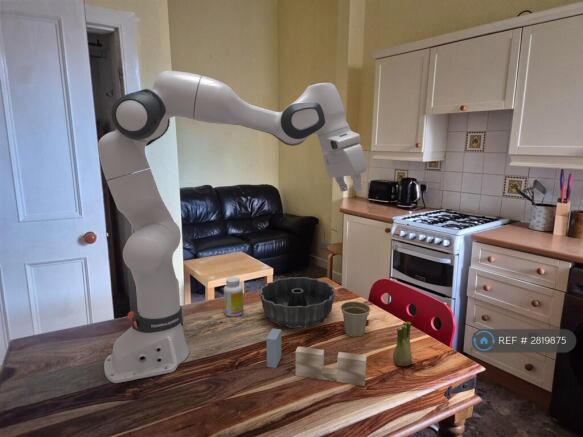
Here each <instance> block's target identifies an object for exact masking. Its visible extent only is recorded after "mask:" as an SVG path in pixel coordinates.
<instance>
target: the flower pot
mask: <svg viewBox="0 0 583 437" xmlns="http://www.w3.org/2000/svg"><path fill="white" fill-rule="evenodd" d="M340 310H341V313H342V318H343V325H344V332H345V333H346V334H345V335H348V336H350V337H361V336H363V335H364V334H365V331H366V330H365V329H366V326H367V321H368V316H369V314H370V312H371V306H370V305H369V304H366V303H365V302H360V301H352V300H351V301H345V302H343V303H342V304H341V305H340Z"/></svg>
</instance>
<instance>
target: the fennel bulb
mask: <svg viewBox="0 0 583 437" xmlns="http://www.w3.org/2000/svg"><path fill="white" fill-rule="evenodd" d="M411 327H412V323H411V322H410V321H405V322H404V321H403V323H402V326H401V327H400V326H399V327H397V329H396V331H397V333H396V334H397V335H396V336H397V338H396V346H395V348H394V350H393V352H392V353H393V354H392V359H393V362H394V363H395V365H396V366H399V367H408V366H410V365H411V364H412V362H413V360H412V358H413V356H412V355H413V354H412V349H411V347H412V346H411V340H410V339H411V338H410V337H411V335H410V334H411Z"/></svg>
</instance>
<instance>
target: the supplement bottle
mask: <svg viewBox="0 0 583 437" xmlns="http://www.w3.org/2000/svg"><path fill="white" fill-rule="evenodd" d="M240 282H241V281H240V278H239V277H238V276H230V277H227V278H226V280H225V284H226V285H224V287H223V301H224V305H223V306H224V314H225V315H226V316H228V317H239V316H241V315H242V314H244V289H243V286H242V285H241V284H240Z"/></svg>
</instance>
